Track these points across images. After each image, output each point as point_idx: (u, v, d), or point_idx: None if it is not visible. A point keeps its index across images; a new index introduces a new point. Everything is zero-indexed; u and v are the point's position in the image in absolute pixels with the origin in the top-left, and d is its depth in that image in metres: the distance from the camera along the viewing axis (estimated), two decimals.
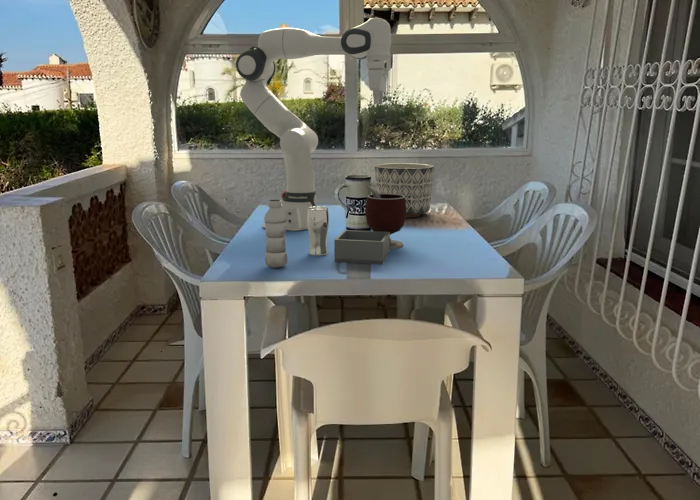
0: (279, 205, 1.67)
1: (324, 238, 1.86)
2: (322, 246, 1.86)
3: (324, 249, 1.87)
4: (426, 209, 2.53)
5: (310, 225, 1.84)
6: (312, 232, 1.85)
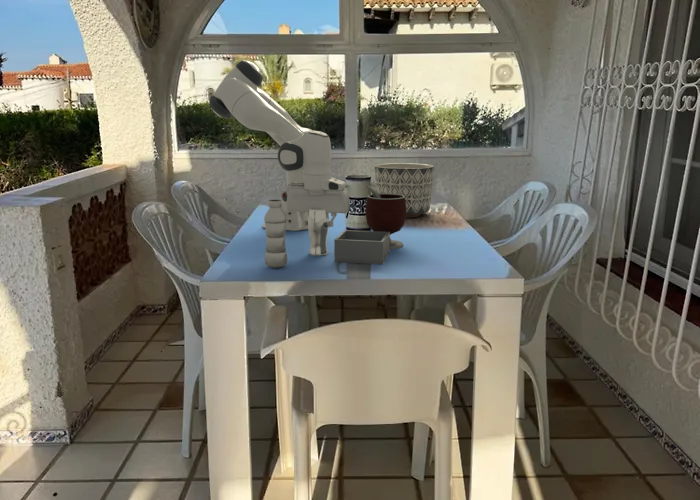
0: (279, 205, 1.67)
1: (324, 238, 1.86)
2: (322, 246, 1.86)
3: (324, 249, 1.87)
4: (426, 209, 2.53)
5: (310, 225, 1.84)
6: (312, 232, 1.85)
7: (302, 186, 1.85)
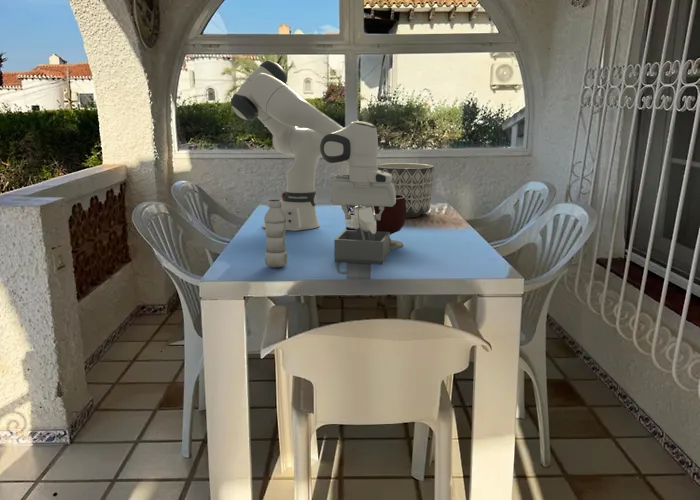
0: (279, 205, 1.67)
1: (374, 236, 1.81)
2: None
3: None
4: (426, 209, 2.53)
5: (358, 225, 1.79)
6: (361, 232, 1.79)
7: (347, 178, 1.79)
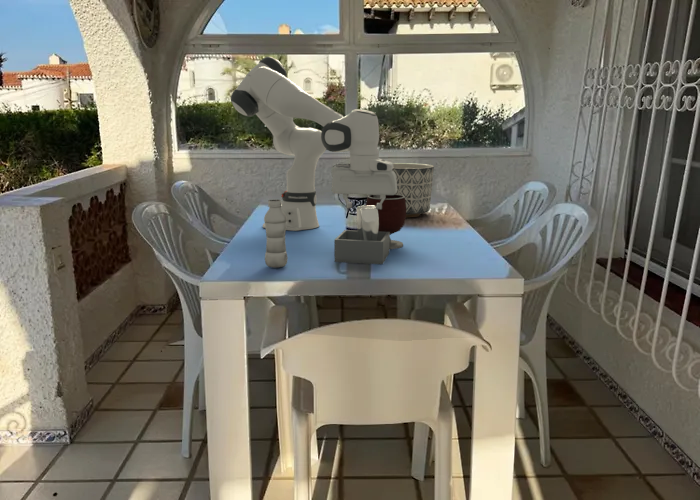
0: (279, 205, 1.67)
1: (375, 237, 1.81)
2: None
3: None
4: (426, 209, 2.53)
5: (361, 225, 1.79)
6: (363, 232, 1.79)
7: (348, 167, 1.78)
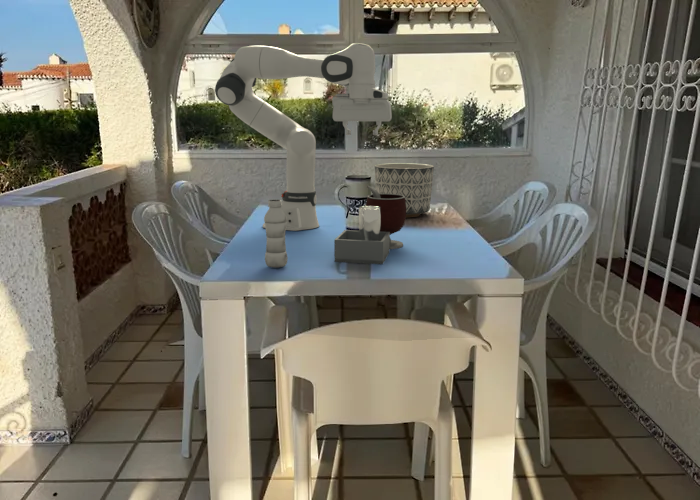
0: (279, 205, 1.67)
1: (376, 238, 1.81)
2: None
3: None
4: (426, 209, 2.53)
5: (362, 225, 1.79)
6: (364, 232, 1.79)
7: (347, 97, 1.98)
